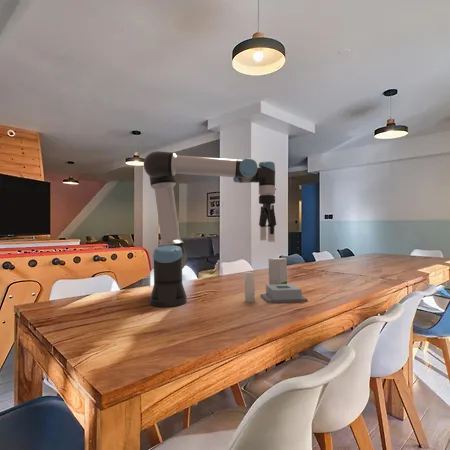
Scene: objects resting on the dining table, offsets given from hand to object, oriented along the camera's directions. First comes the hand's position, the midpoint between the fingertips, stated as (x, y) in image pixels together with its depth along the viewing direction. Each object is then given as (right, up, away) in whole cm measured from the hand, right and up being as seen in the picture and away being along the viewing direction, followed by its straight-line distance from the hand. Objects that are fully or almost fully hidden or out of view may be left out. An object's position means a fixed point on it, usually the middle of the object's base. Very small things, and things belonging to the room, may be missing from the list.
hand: (267, 241), depth 141 cm
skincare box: (+7, -25, +9) cm, 27 cm away
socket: (+6, -24, -10) cm, 27 cm away
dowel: (-9, -25, -13) cm, 29 cm away
